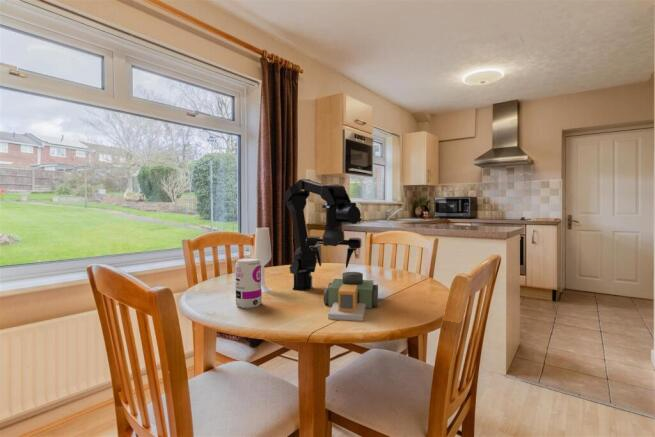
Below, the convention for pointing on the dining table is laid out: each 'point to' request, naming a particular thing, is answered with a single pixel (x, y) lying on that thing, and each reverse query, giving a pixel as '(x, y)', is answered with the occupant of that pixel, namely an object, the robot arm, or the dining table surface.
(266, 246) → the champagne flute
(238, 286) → the supplement can
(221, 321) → the dining table surface
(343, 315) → the green wheeled block
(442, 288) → the dining table surface
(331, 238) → the robot arm
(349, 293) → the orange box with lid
